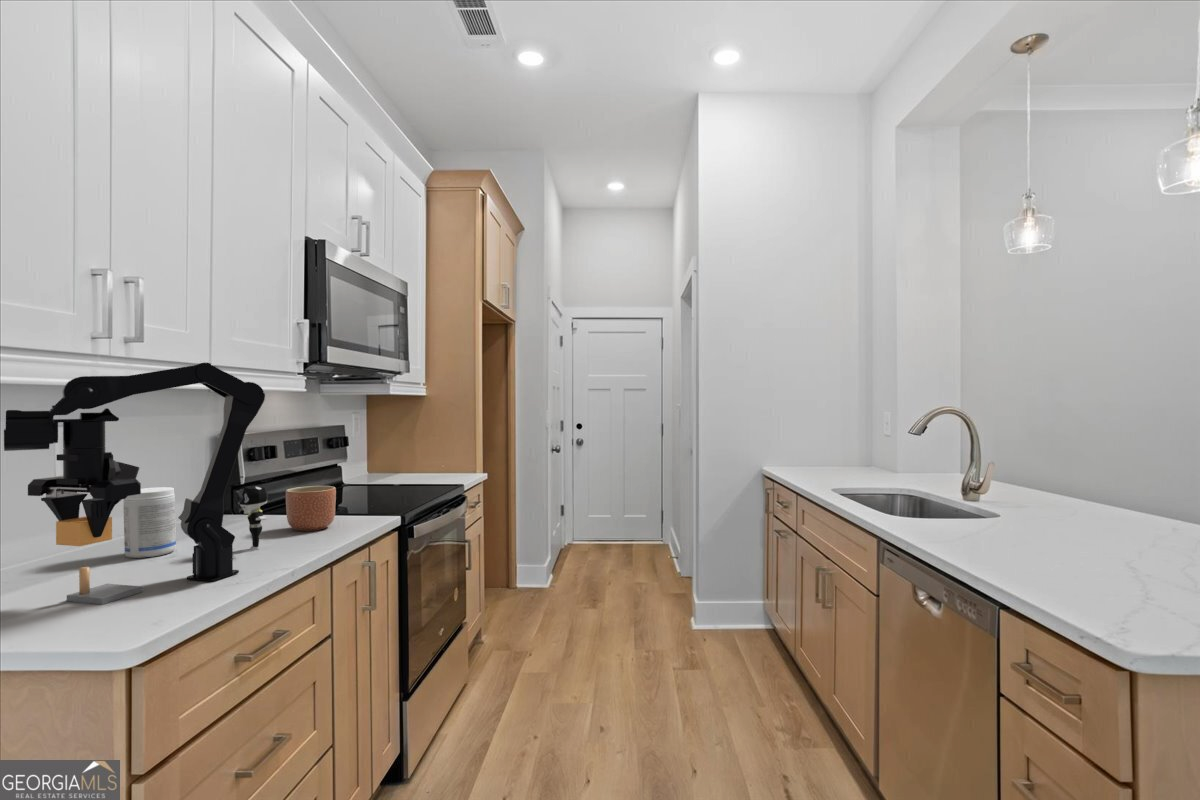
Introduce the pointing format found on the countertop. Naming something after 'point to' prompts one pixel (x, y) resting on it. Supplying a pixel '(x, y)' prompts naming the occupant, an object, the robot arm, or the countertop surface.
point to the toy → (254, 510)
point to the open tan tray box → (80, 532)
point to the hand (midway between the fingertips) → (84, 536)
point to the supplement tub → (150, 523)
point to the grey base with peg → (100, 590)
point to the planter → (310, 507)
